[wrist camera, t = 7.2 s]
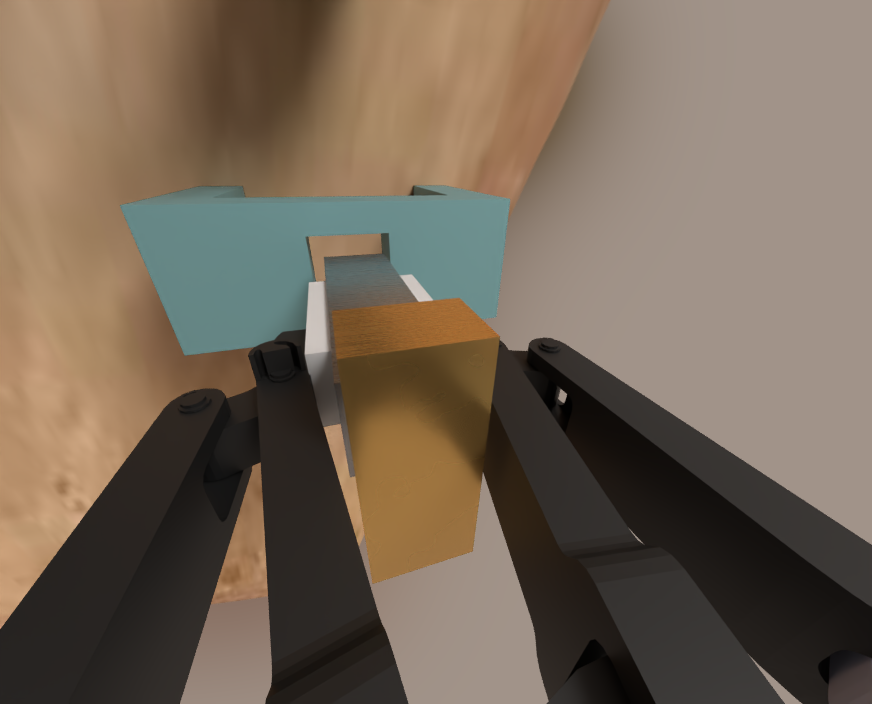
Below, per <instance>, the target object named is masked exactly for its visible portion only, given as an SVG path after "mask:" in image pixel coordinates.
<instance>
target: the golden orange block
mask: <svg viewBox="0 0 872 704" xmlns="http://www.w3.org/2000/svg"><path fill="white" fill-rule="evenodd" d="M324 263H325V276H326V288H327V301H328V314H329V327H330V340H331V352H332V365H333V378H334V387H335V393H336V399H337V404H338V410H339V416H340V422H341V427H342V433H343V439H344V445H345V451H346V456H347V462H348V468H349V474H350V477H354V476H355V477H356V483H357V489H358V496H359V502H360V508H361V514H362V521H363V527H364V533H365V539H366V545H367V552H368V558H369V564H370V570H371V576H372V583H373V584H374V583H377V582H380V581H383V580H386V579H389V578H392V577H395V576H399V575H402V574H405V573H408V572H411V571H414V570H417V569H420V568H423V567H426V566H429V565H432V564H435V563H438V562H442V561H445V560H447V559H451V558H454V557H457V556H460V555H463V554H466V553H469V552H472V551H473V545H474V537H475V529H476V521H477V513H478V506H479V498H480V489H481V482H482V474H483V466H484V458H485V450H486V443H487V435H488V427H489V419H490V411H491V403H492V395H493V387H494V380H495V372H496V364H497V356H498V348H499V340H500V336H499V335H498V334H497V333H495V332H494V331H493V330H492V329H491V328H490V327H489V326H488V325H487V324H486V323H485V322H484V321H483V320H482V319H481V318H480V317H479V316H478V315H477V314H476V313H475V312H474V311H473V310H472V309H471V308H470V307H469V306H468V305H466V304H465V303H464V302H463V301H462V300H461V299H460V298H452V299H442V300H432V301H422V302H418V300H417V299H416V297H415V296H414V295H413V293H412V292H411V290H410V289H409V288H408V286H407V285H406V284H405V282H404V281H403V279H402V278H401V277H400V275H399V274H398V272H397V271H396V270H395V268H394V267H393V266H392V264H391V263H390V261H389V260H388V259H387V257H386V256H385V254H369V255H352V256H335V257H324Z"/></svg>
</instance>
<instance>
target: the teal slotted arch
mask: <svg viewBox="0 0 872 704" xmlns="http://www.w3.org/2000/svg"><path fill="white" fill-rule="evenodd" d="M509 205H510V199H507V198H502V197H497V196H493V195H488V194H483V193H478V192H473V191H469V190H464V189H459V188H454V187H449V186H414V196H340V197H254V198H245V195H244V191H243V187H242V186H198V187H194V188H190V189H186V190H182V191H177V192H173V193H169V194H165V195H161V196H157V197H152V198H148V199H144V200H140V201H136V202H132V203H127V204H123V205H120V207H121V209H122V212H123V214H124V216H125V219H126V221H127V223H128V226H129V228H130V230H131V233H132V235H133V237H134V239H135V242H136V244H137V246H138V249H139V251H140V253H141V256H142V258H143V260H144V263H145V265H146V267H147V270H148V272H149V274H150V276H151V279H152V281H153V283H154V286H155V288H156V290H157V293H158V295H159V297H160V300H161V302H162V304H163V307H164V309H165V311H166V314H167V316H168V318H169V320H170V323H171V325H172V327H173V330H174V332H175V334H176V337H177V339H178V341H179V344H180V346H181V348H182V351H183V353H184V355H185V356H186V355H194V354H202V353H210V352H218V351H226V350H234V349H242V348H251V347H256V346H258V345H260V344H262V343H264V342H268V341H272V340H275V338H276V337H277V336H278V335H279V334H280V333H282V332H285V331H293V330H302V329H306V323H307V306H308V289H309V282H316V279H315V273H314V267H313V262H312V256H311V250H310V244H309V238H308V236H330V235H353V234H377V233H381V241H382V254H385V256H386V257H387V259H388V260H389V261H390V263H391V264H392V266H393V267H394V268H395V270H396V271H397V272H398V274H399V275H411V274H412V275H413V276H414V277H415V279H416V280H417V281H418V282H419V283H420V285H421V286H422V287H423V288H424V290H425V291H426V292H427V293H428V294H429V296H430V297H431V298H432V299H433V300H442V299H452V298H460V299H461V300H462V301H463V302H464V303H465V304H466V305H468V306H469V307H470V308H471V309H472V310H473V311H474V312H475V313H476V314H477V315H478V316H479V317H480V318H481V319H486V318H494V317H496V314H497V306H498V296H499V289H500V280H501V272H502V264H503V255H504V247H505V239H506V230H507V222H508V213H509Z"/></svg>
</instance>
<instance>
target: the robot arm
mask: <svg viewBox="0 0 872 704" xmlns="http://www.w3.org/2000/svg"><path fill="white" fill-rule="evenodd" d="M400 277H401V278H402V279H403V281H404V282H405V284H406V285H407V286H408V288H409V289H410V290H411V292H412V293H413V295H414V296H415V297H416V299H417V300H418V302H422V301H432V300H433V299H432V298H431V297H430V296H429V294H428V293H427V292H426V291H425V290H424V288H423V287H422V286H421V285H420V283H419V282H418V281H417V280H416V279H415V277H414V276H413V275H412V274H411V275H400ZM248 357H249V360H250V363H251V366H252V369H253V373H254V376H255V379H256V385H257V386H256V387H255V388H253V389H251V390H249V391H247V392H244V393H242V394H239V395H236V396H233V397H230V398H227V399H226V396H225V394H224V393H223V392H222V391H221V390H218V389H200V390H194V391H190V392H189V393H188V392H187V393H185V394H183V395H181V396H179V397H178V398H176V399H174V400H173V401H171V402H170V403H169V404H168V405H167V406H166V407H165V408H164V409H163V411H162V412H161V413H160V415H159V416H158V417H157V419H156V420H155V421H154V423H153V424H152V426H151V427H150V428H149V430H148V431H147V432H146V434H145V435H144V436H143V438H142V439H141V440H140V442H139V443H138V444H137V446H136V447H135V448H134V450H133V451H132V452H131V454H130V455H129V457H128V458H127V459H126V461H125V462H124V463H123V465H122V466H121V467H120V469H119V470H118V471H117V473H116V474H115V475H114V477H113V478H112V479H111V481H110V482H109V484H108V485H107V486H106V488H105V489H104V490H103V492H102V493H101V494H100V496H99V497H98V498H97V500H96V501H95V502H94V504H93V505H92V506H91V508H90V509H89V510H88V512H87V513H86V515H85V516H84V517H83V519H82V520H81V521H80V523H79V524H78V525H77V527H76V528H75V529H74V531H73V532H72V533H71V535H70V536H69V537H68V539H67V540H66V541H65V543H64V544H63V546H62V547H61V548H60V550H59V551H58V552H57V554H56V555H55V556H54V558H53V559H52V560H51V562H50V563H49V564H48V566H47V567H46V568H45V570H44V571H43V573H42V574H41V575H40V577H39V578H38V579H37V581H36V582H35V583H34V585H33V586H32V587H31V589H30V590H29V591H28V593H27V594H26V595H25V597H24V598H23V599H22V601H21V602H20V604H19V605H18V606H17V608H16V609H15V610H14V612H13V613H12V614H11V616H10V617H9V618H8V620H7V621H6V622H5V624H4V625H3V626H2V628H1V629H0V704H180V701H181V697H182V695H183V692H184V688H185V685H186V682H187V679H188V675H189V672H190V669H191V666H192V662H193V659H194V656H195V653H196V649H197V646H198V643H199V640H200V637H201V633H202V630H203V627H204V623H205V621H206V617H207V614H208V611H209V608H210V604H211V601H212V598H213V595H214V592H215V588H216V585H217V582H218V579H219V575H220V572H221V569H222V566H223V563H224V559H225V556H226V553H227V550H228V546H229V543H230V540H231V537H232V533H233V530H234V527H235V524H236V521H237V517H238V514H239V511H240V508H241V504H242V501H243V498H244V495H245V492H246V488H247V485H248V482H249V479H250V475H251V472H252V466H253V465H255V464H257V463H260V462H261V475H262V493H263V511H264V529H265V548H266V566H267V584H268V600H269V601H268V602H269V619H270V638H271V656H272V683H271V688H270V691H269V693H268V696H267V698H266V703H265V704H408V701H407V697H406V694H405V691H404V687H403V684H402V681H401V677H400V674H399V671H398V667H397V664H396V661H395V658H394V655H393V651H392V648H391V645H390V642H389V639H388V636H387V634H386V631H385V629H384V627H383V625H382V623H381V620H380V617H379V614H378V610H377V608H376V604H375V601H374V598H373V594H372V591H371V587H370V584H369V580H368V577H367V573H366V570H365V567H364V563H363V560H362V556H361V553H360V550H359V546H358V543H357V540H356V536H355V533H354V529H353V526H352V523H351V519H350V516H349V512H348V509H347V506H346V502H345V499H344V495H343V492H342V489H341V485H340V482H339V479H338V475H337V472H336V468H335V465H334V462H333V458H332V455H331V451H330V448H329V445H328V441H327V438H326V435H325V431H324V428H323V427H326V426H331V425H336V424H341V422H340V416H339V410H338V404H337V399H336V393H335V387H334V378H333V365H332V352H331V340H330V327H329V314H328V301H327V288H326V281H321V282H309V289H308V306H307V323H306V329H302V330H293V331H285V332H282V333H280V334H279V335H278V336H277V337H276V338H275V340H272V341H268V342H264V343H262V344H260V345H258V346H256V347H254V348H253V349H252V350H251V351H250V353H249V355H248ZM560 389H562V390H563V391H564V392H565V393H567V397H566V401H565V403H562V402H561V401H560V400H559V399H558V397H559V393H560ZM483 473H484V476H485V479H486V482H487V485H488V488H489V491H490V494H491V497H492V500H493V503H494V507H495V510H496V513H497V516H498V519H499V522H500V525H501V528H502V531H503V534H504V537H505V540H506V543H507V546H508V549H509V552H510V555H511V558H512V561H513V565H514V567H515V571H516V573H517V576H518V580H519V583H520V586H521V589H522V592H523V595H524V598H525V601H526V604H527V607H528V610H529V613H530V616H531V620H532V623H533V627H534V632H535V638H536V650H537V658H538V663H539V669H540V672H541V676H542V680H543V683H544V687H545V690H546V693H547V696H548V700H549V702H548V703H547V704H785V703H784V702H783V701H782V699H781V698H780V697H779V696H778V694H777V693H776V691H775V690H774V689H773V687H772V686H771V685H770V683H769V682H768V680H767V679H766V678H765V676H764V675H763V674H762V672H761V671H760V670H759V668H758V667H757V666H756V664H755V663H754V662H753V660H752V659H751V658H750V656H751V657H752V658H753V659H754V660H755V661H756V662H757V663H758V664H759V665H760V666H761V667H762V668H763V669H764V670H765V671H766V672H768V673H769V674H770V675H771V676H772V677H773V678H774V679H775V680H776V681H778V682H779V683H780V684H781V685H782V686H783V687H784V688H785V689H786V690H787V691H788V692H790V693H791V694H792V695H793V696H794V697H795V698H796V699H798V700H799V701H800V702H801V703H802V704H872V545H871V544H869V543H868V542H866V541H865V540H863V539H862V538H860V537H859V536H857V535H855V534H854V533H853V532H851V531H850V530H848V529H846V528H845V527H843V526H842V525H840V524H839V523H837V522H836V521H834V520H833V519H831V518H830V517H828V516H827V515H825V514H824V513H822V512H821V511H819V510H818V509H816V508H814V507H813V506H812V505H810V504H808V503H807V502H805V501H804V500H802V499H801V498H799V497H798V496H796V495H795V494H793V493H791V492H790V491H789V490H787V489H786V488H784V487H782V486H781V485H779V484H778V483H776V482H775V481H773V480H772V479H770V478H769V477H767V476H766V475H764V474H763V473H761V472H760V471H758V470H757V469H755V468H753V467H752V466H750V465H749V464H747V463H746V462H744V461H743V460H741V459H740V458H738V457H737V456H735V455H734V454H732V453H731V452H729V451H727V450H726V449H725V448H723V447H721V446H720V445H718V444H717V443H715V442H714V441H712V440H711V439H709V438H708V437H706V436H705V435H703V434H702V433H700V432H699V431H697V430H696V429H694V428H692V427H691V426H689V425H688V424H686V423H685V422H683V421H682V420H680V419H678V418H677V417H676V416H674V415H673V414H671V413H670V412H668V411H667V410H665V409H664V408H662V407H660V406H659V405H657V404H656V403H654V402H653V401H651V400H650V399H648V398H647V397H645V396H644V395H642V394H641V393H639V392H638V391H636V390H635V389H633V388H631V387H630V386H628V385H627V384H625V383H624V382H622V381H621V380H619V379H618V378H616V377H615V376H613V375H612V374H610V373H609V372H607V371H606V370H604V369H602V368H601V367H599V366H598V365H596V364H595V363H593V362H592V361H590V360H589V359H587V358H586V357H584V356H583V355H581V354H580V353H578V352H577V351H575V350H573V349H572V348H570V347H569V346H567V345H566V344H564V343H562V342H560V341H557V340H554V339H552V338H539V339H534V340H532V341H531V342H530V343H529V347H528V351H512V350H508V348H507V347H506V345H505V344H504V343H503V342H501V341H500V340H499V348H498V356H497V364H496V372H495V380H494V387H493V395H492V403H491V411H490V419H489V427H488V435H487V443H486V450H485V458H484V466H483ZM629 529H630V530H631V531H632V532H633V533H634V534H635V535H636V536H637V537H638V538H639V539H640V540H641V541H642V542H643V544H642V543H641V542H639V541H638V540H637V539H636V538H635V536H634V535H633V534H632V533H631V531H630V530H629ZM747 653H748V654H749V655H750V656H749V655H748V654H747Z"/></svg>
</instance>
